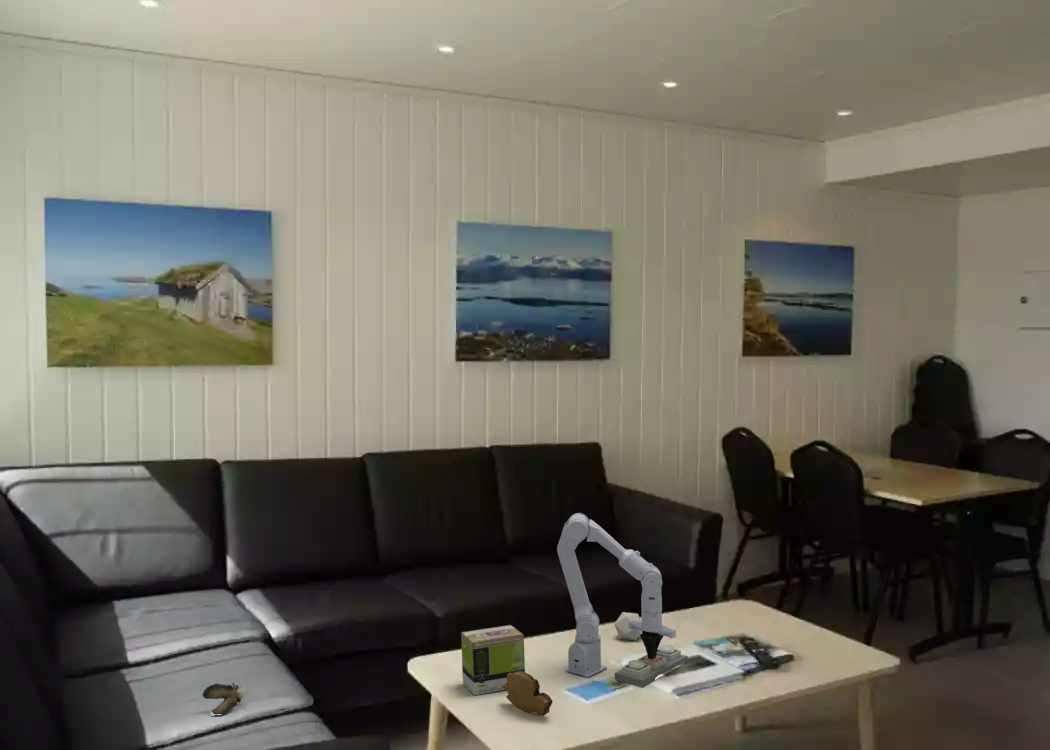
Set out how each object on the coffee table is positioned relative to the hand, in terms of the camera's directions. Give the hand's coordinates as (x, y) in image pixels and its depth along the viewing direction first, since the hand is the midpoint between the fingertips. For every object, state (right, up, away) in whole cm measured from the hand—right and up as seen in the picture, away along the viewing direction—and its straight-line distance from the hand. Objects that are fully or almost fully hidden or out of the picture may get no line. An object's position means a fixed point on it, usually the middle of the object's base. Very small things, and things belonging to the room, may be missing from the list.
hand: (651, 658), depth 262 cm
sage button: (-5, -1, -6) cm, 8 cm away
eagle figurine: (-113, -6, -23) cm, 116 cm away
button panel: (0, -4, 0) cm, 4 cm away
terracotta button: (0, -2, 0) cm, 2 cm away
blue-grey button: (+5, 0, +6) cm, 8 cm away
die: (-3, -3, +29) cm, 29 cm away
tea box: (-45, -5, -9) cm, 46 cm away
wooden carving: (-35, -6, -27) cm, 45 cm away
